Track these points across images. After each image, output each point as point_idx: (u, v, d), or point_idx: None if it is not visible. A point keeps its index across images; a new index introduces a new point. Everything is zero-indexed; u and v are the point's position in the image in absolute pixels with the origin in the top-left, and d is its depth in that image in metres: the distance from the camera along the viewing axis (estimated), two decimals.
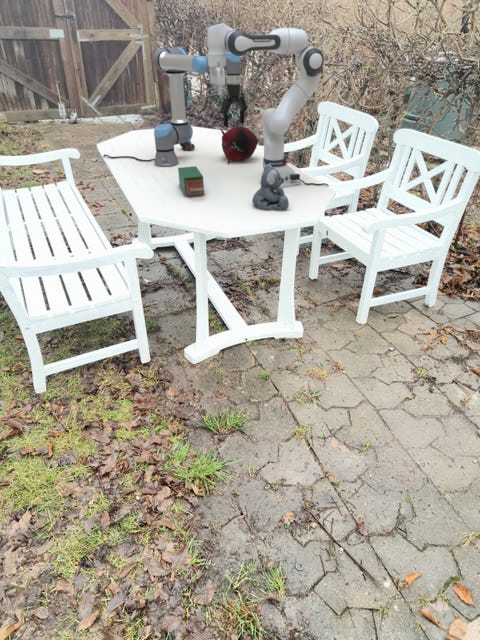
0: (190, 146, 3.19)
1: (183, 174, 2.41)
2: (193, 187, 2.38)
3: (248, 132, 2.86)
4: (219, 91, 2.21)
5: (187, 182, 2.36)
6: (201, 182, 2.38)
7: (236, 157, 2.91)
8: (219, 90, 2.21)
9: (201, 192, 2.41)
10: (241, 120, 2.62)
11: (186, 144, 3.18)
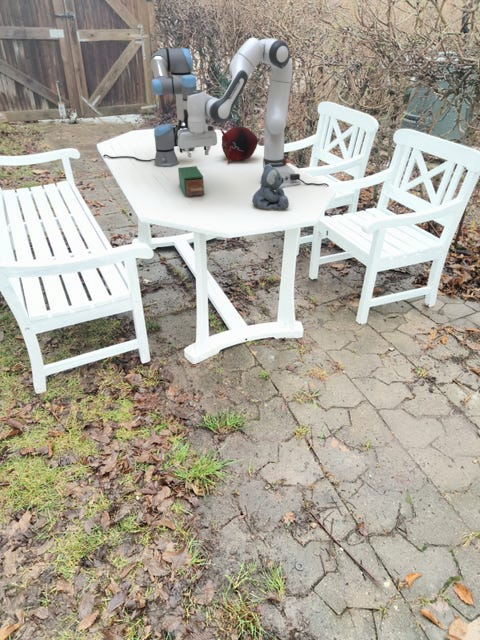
0: None
1: (183, 174, 2.41)
2: (193, 187, 2.38)
3: (248, 132, 2.86)
4: (187, 153, 2.26)
5: (187, 182, 2.36)
6: (201, 182, 2.38)
7: (236, 157, 2.91)
8: (187, 152, 2.26)
9: (201, 192, 2.41)
10: (204, 147, 2.48)
11: None
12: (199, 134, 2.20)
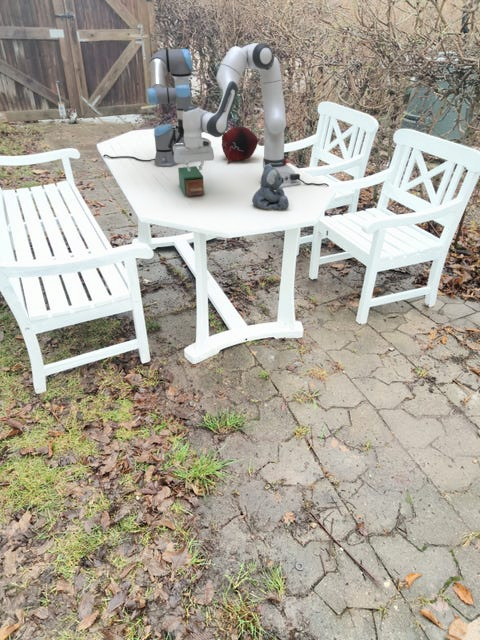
0: None
1: (183, 174, 2.41)
2: (193, 187, 2.38)
3: (248, 132, 2.86)
4: (187, 167, 2.29)
5: (187, 182, 2.36)
6: (201, 182, 2.38)
7: (236, 157, 2.91)
8: None
9: (201, 192, 2.41)
10: None
11: None
12: (194, 149, 2.21)
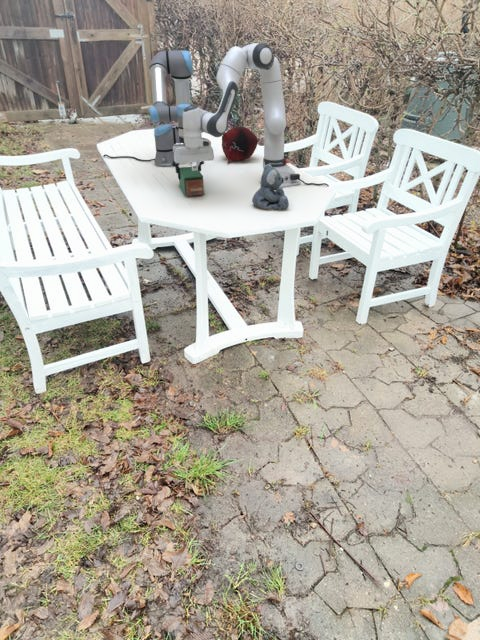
0: None
1: (183, 174, 2.41)
2: (193, 187, 2.38)
3: (248, 132, 2.86)
4: None
5: (187, 182, 2.36)
6: (201, 182, 2.38)
7: (236, 157, 2.91)
8: (191, 166, 2.29)
9: (201, 192, 2.41)
10: None
11: None
12: (194, 149, 2.21)
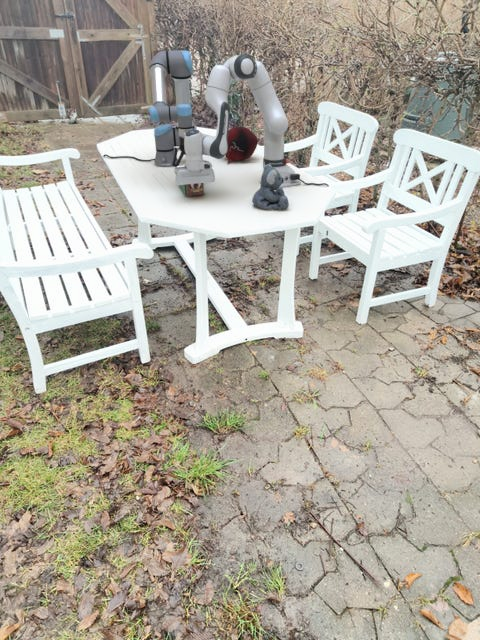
0: None
1: None
2: None
3: (248, 132, 2.86)
4: None
5: None
6: None
7: (236, 157, 2.91)
8: (192, 187, 2.35)
9: (201, 192, 2.41)
10: None
11: None
12: (195, 172, 2.27)
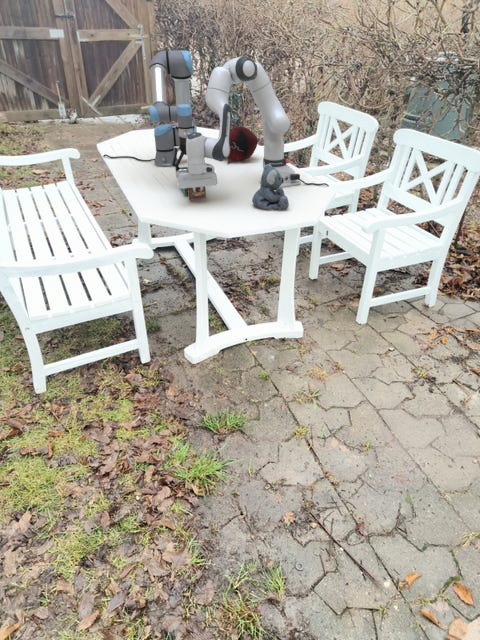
0: None
1: None
2: (195, 190, 2.33)
3: (248, 132, 2.86)
4: None
5: None
6: None
7: (236, 157, 2.91)
8: (194, 191, 2.30)
9: (203, 195, 2.36)
10: None
11: None
12: (197, 175, 2.23)
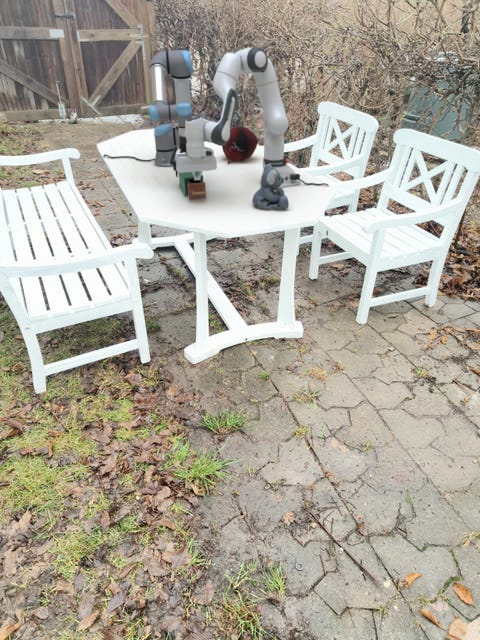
0: None
1: (183, 174, 2.41)
2: (195, 190, 2.33)
3: (248, 132, 2.86)
4: (194, 176, 2.26)
5: (189, 185, 2.31)
6: (203, 185, 2.33)
7: (236, 157, 2.91)
8: (193, 175, 2.26)
9: (203, 196, 2.36)
10: None
11: None
12: (197, 159, 2.19)
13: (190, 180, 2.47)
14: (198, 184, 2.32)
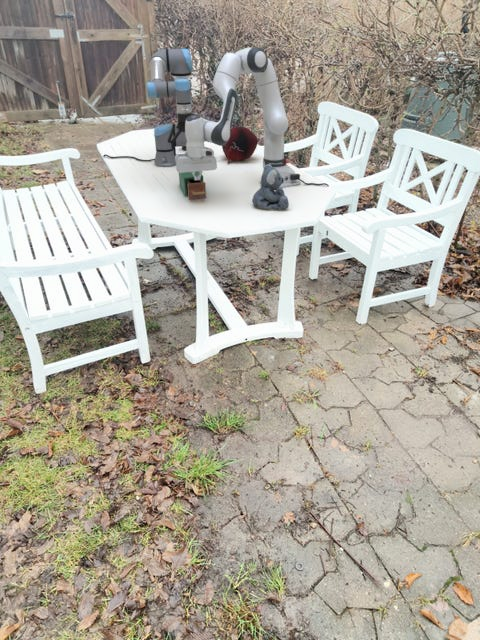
0: None
1: (183, 174, 2.41)
2: (195, 190, 2.33)
3: (248, 132, 2.86)
4: (194, 176, 2.26)
5: (189, 185, 2.31)
6: (203, 185, 2.33)
7: (236, 157, 2.91)
8: (193, 175, 2.26)
9: (203, 196, 2.36)
10: None
11: None
12: (197, 159, 2.19)
13: (190, 180, 2.47)
14: (198, 184, 2.32)
